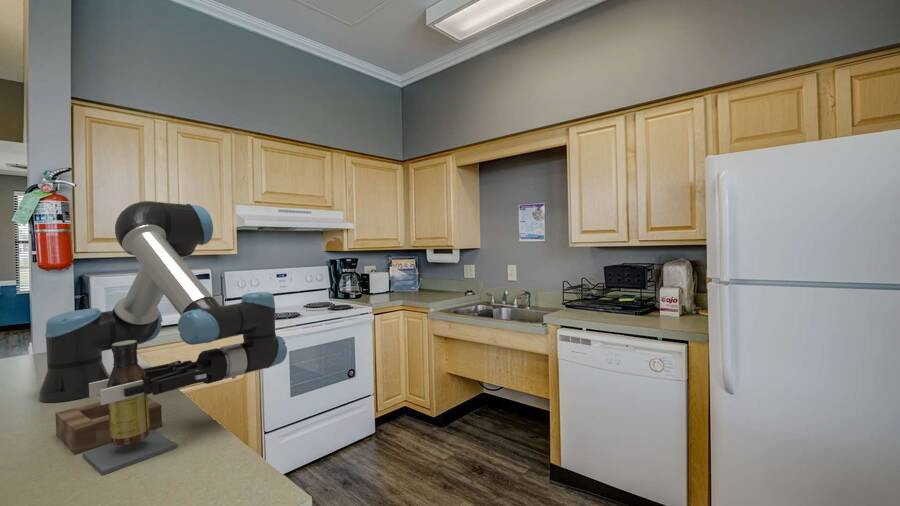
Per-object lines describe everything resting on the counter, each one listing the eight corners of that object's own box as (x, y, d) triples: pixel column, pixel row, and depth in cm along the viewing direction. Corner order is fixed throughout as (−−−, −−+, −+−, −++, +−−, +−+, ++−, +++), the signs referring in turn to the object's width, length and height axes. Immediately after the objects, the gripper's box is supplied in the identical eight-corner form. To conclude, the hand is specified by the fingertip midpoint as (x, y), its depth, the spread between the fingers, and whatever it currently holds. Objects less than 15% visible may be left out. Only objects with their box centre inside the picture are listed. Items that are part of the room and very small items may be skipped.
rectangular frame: (56, 435, 91) (55, 413, 91) (137, 412, 103) (136, 392, 103) (75, 454, 82) (74, 429, 82) (162, 426, 94) (161, 404, 94)
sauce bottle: (125, 434, 85) (121, 338, 85) (157, 431, 86) (152, 337, 85) (101, 449, 79) (96, 346, 78) (135, 447, 79) (131, 344, 79)
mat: (82, 456, 81) (82, 452, 81) (153, 433, 91) (153, 429, 91) (102, 475, 74) (102, 471, 74) (176, 447, 84) (176, 443, 84)
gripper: (242, 386, 91) (112, 425, 72) (202, 372, 102) (81, 403, 83) (241, 353, 91) (111, 383, 72) (201, 342, 102) (79, 366, 83)
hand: (95, 393), depth 78 cm, fingers closed on sauce bottle, 6 cm apart
